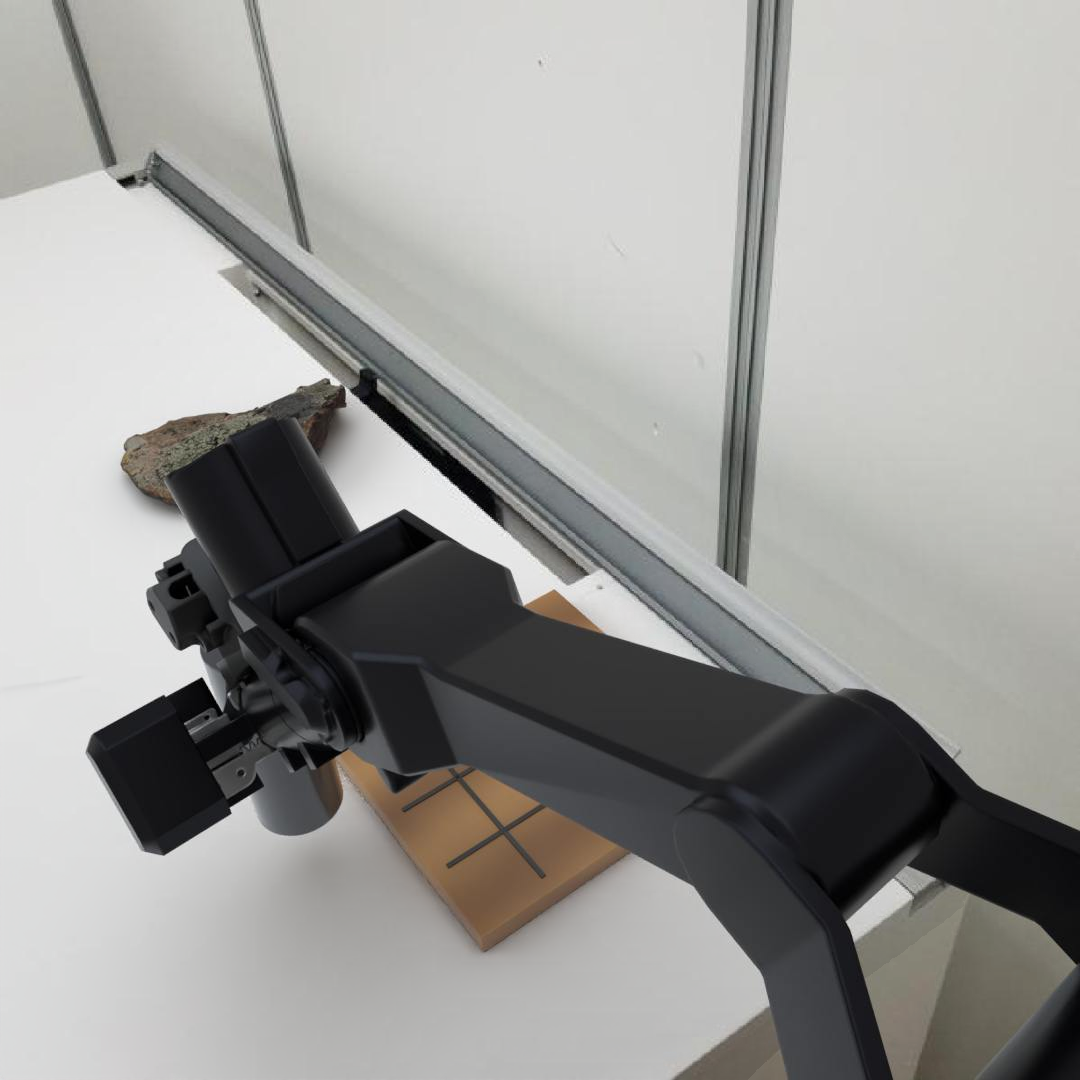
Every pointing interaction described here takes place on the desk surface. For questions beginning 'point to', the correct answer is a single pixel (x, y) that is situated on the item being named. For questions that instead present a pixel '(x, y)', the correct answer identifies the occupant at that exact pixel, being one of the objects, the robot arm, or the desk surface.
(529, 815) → the board
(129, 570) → the desk surface
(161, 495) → the rock
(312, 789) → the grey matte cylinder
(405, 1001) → the desk surface
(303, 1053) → the desk surface
